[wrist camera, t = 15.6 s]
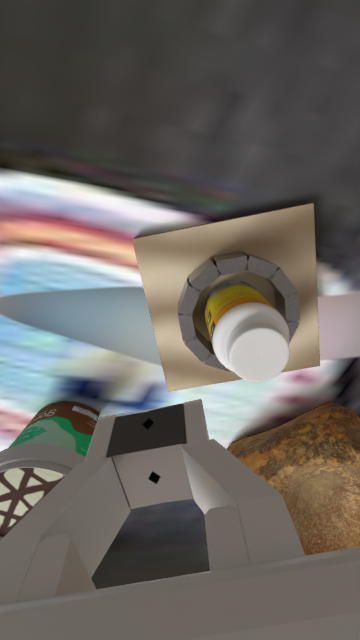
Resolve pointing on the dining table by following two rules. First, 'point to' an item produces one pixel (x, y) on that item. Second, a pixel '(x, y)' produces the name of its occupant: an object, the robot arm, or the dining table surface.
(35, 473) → the food container
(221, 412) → the dining table surface
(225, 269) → the grey segmented ring
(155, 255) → the birch board
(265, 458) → the rough brown rock
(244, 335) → the supplement bottle
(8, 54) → the dining table surface
